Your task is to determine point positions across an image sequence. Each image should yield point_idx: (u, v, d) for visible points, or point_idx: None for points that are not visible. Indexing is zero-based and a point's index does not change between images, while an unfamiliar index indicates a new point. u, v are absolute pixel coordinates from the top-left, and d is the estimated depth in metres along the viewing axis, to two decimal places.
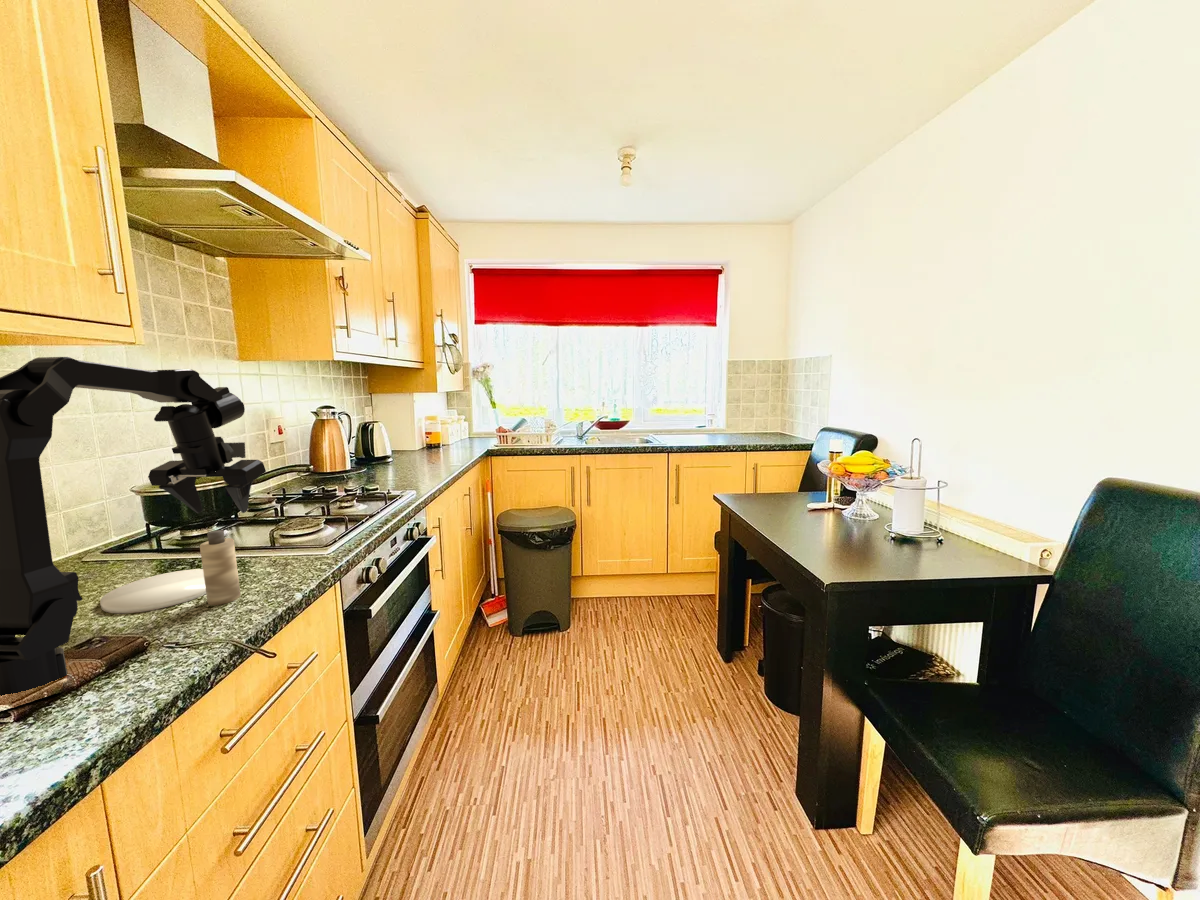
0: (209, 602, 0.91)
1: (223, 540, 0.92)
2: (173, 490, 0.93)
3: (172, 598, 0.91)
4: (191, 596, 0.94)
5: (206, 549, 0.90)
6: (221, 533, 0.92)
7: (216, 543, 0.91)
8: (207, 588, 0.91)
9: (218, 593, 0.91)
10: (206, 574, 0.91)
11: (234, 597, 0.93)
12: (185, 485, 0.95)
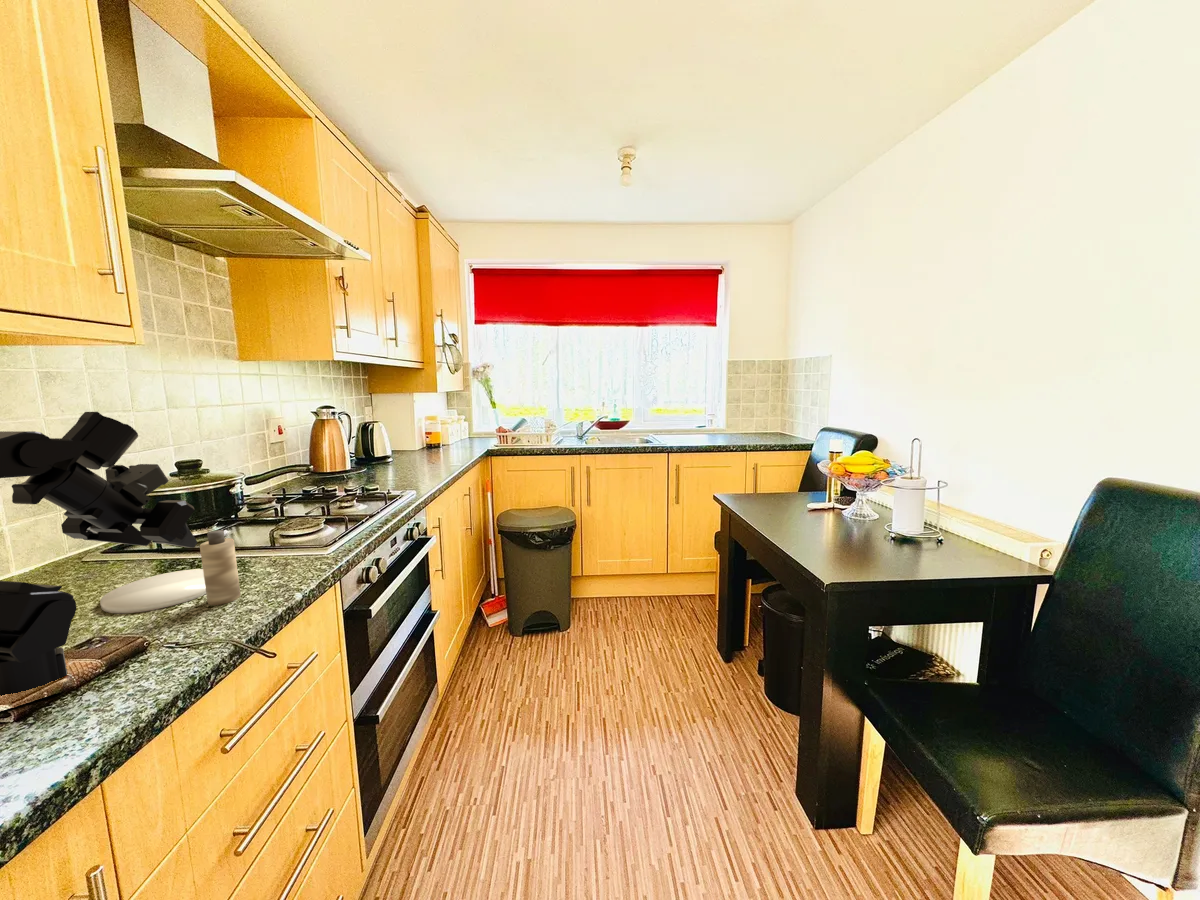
0: (209, 602, 0.91)
1: (223, 540, 0.92)
2: (100, 540, 0.79)
3: (172, 598, 0.91)
4: (191, 596, 0.94)
5: (206, 549, 0.90)
6: (221, 533, 0.92)
7: (216, 543, 0.91)
8: (207, 588, 0.91)
9: (218, 593, 0.91)
10: (206, 574, 0.91)
11: (234, 597, 0.93)
12: None
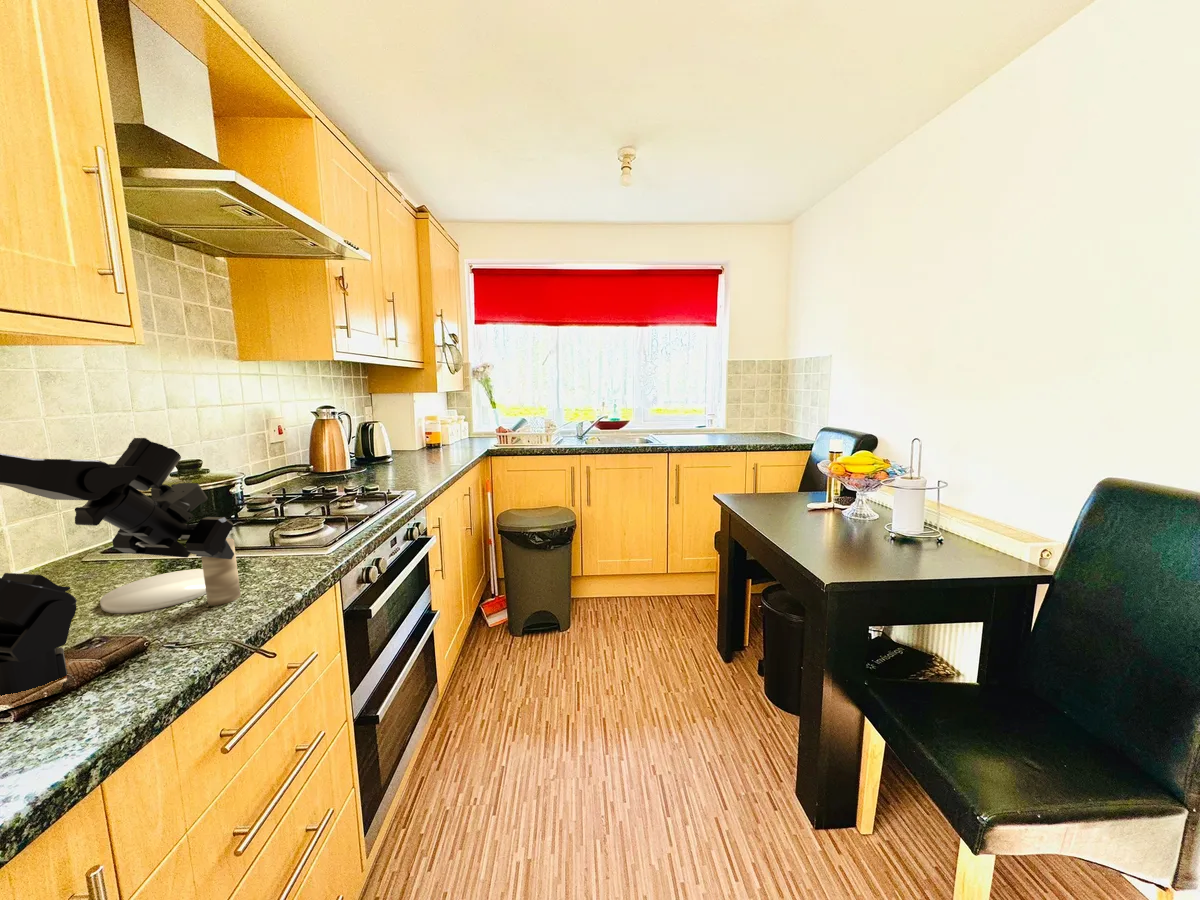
0: (209, 602, 0.91)
1: None
2: (147, 554, 0.85)
3: (172, 598, 0.91)
4: (191, 596, 0.94)
5: None
6: None
7: None
8: (207, 588, 0.91)
9: (218, 593, 0.91)
10: (206, 574, 0.91)
11: (234, 597, 0.93)
12: None
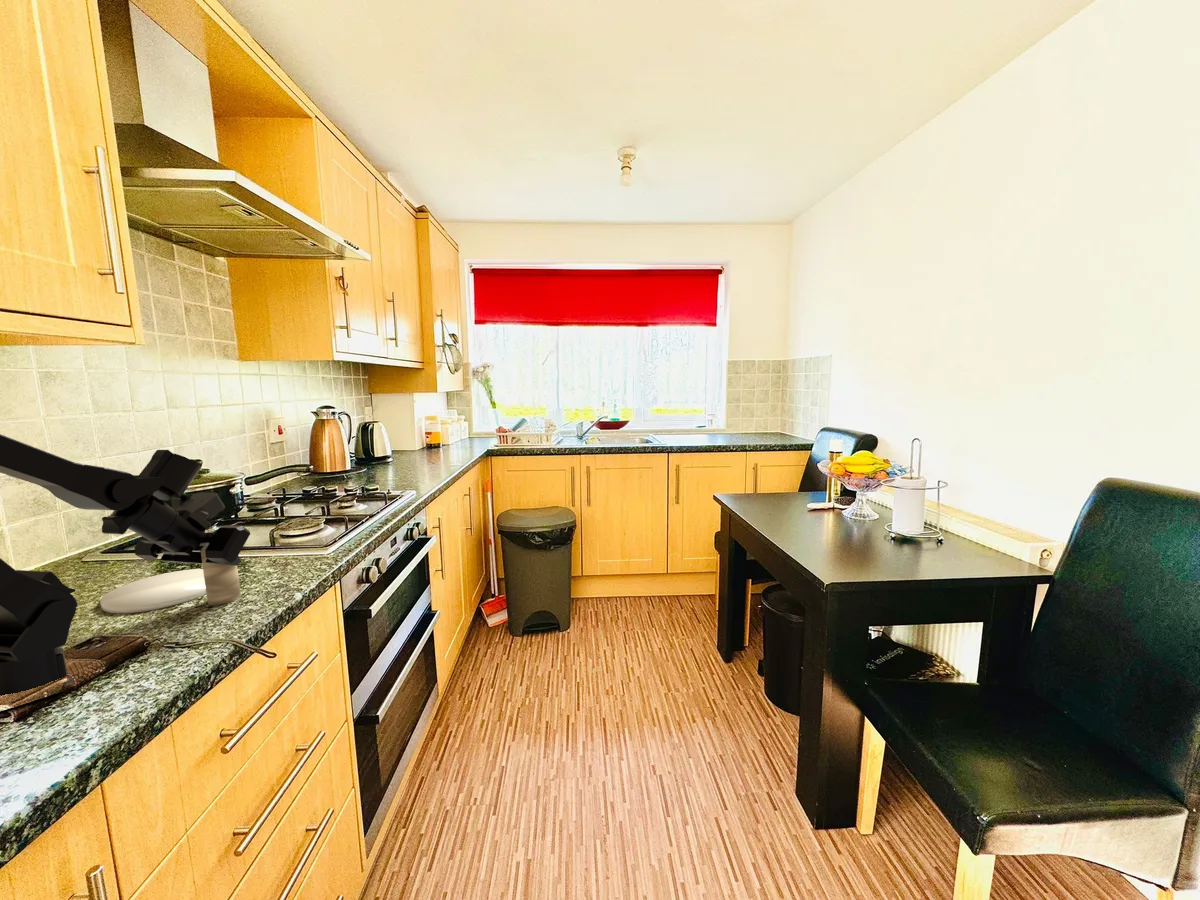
0: (210, 602, 0.91)
1: None
2: (176, 561, 0.88)
3: (172, 598, 0.91)
4: (191, 596, 0.94)
5: None
6: None
7: None
8: (207, 588, 0.91)
9: (218, 592, 0.91)
10: (206, 574, 0.91)
11: (234, 597, 0.93)
12: None
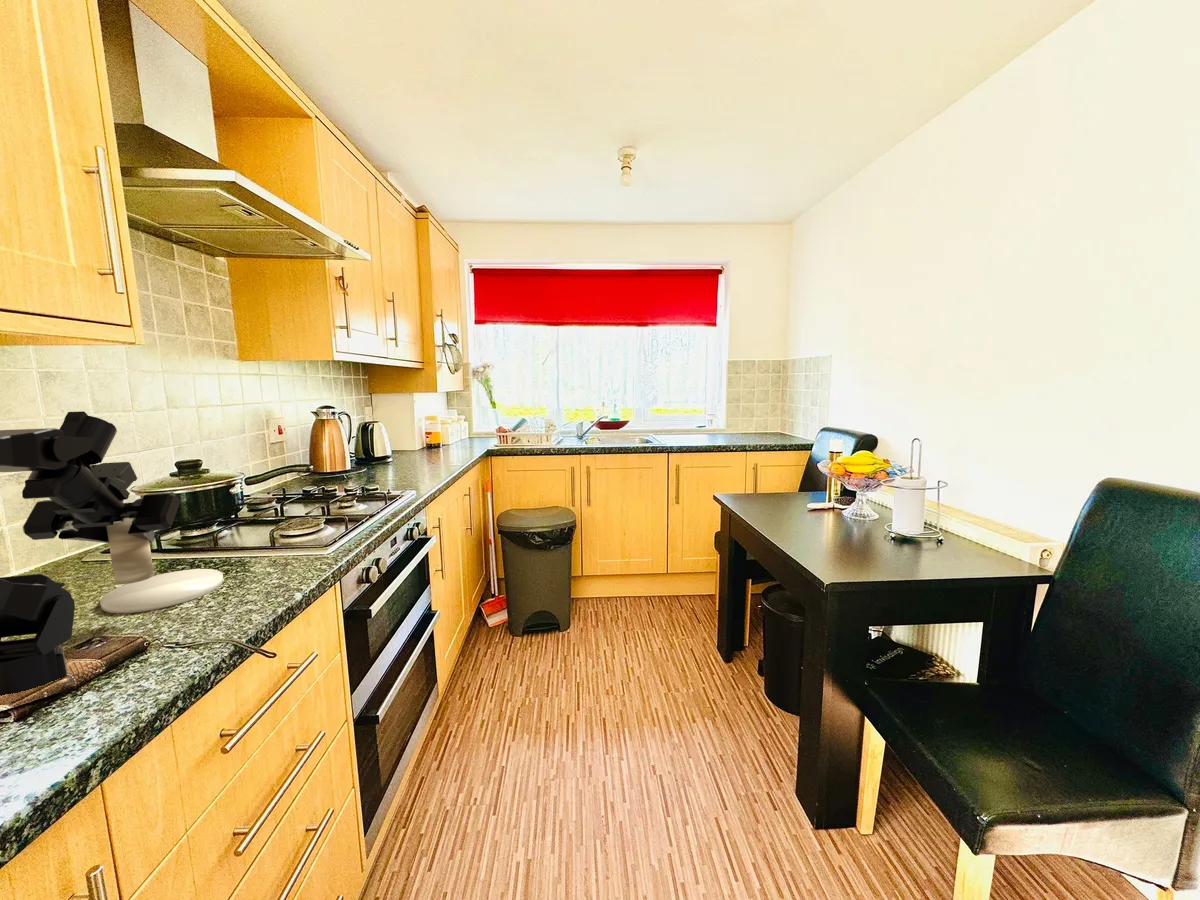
0: (121, 582, 0.84)
1: None
2: (81, 538, 0.80)
3: (172, 598, 0.91)
4: (191, 596, 0.94)
5: (119, 522, 0.83)
6: None
7: None
8: (118, 566, 0.84)
9: (134, 569, 0.85)
10: (117, 551, 0.84)
11: (150, 574, 0.87)
12: None
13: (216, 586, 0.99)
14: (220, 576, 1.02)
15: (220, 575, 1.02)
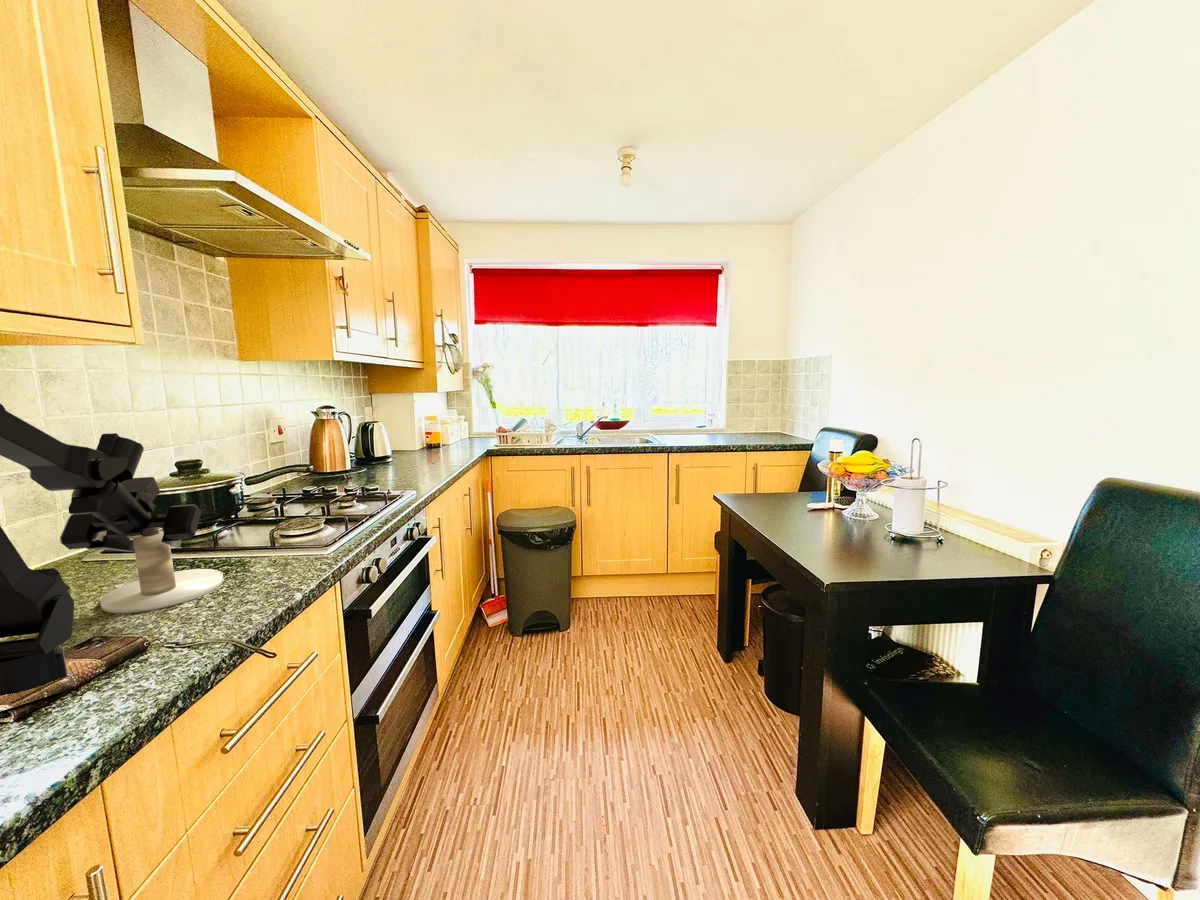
0: (148, 593, 0.93)
1: (158, 531, 0.95)
2: (106, 547, 0.88)
3: (172, 598, 0.91)
4: (191, 596, 0.94)
5: (146, 540, 0.92)
6: None
7: (153, 534, 0.94)
8: (145, 579, 0.93)
9: (159, 582, 0.94)
10: (144, 566, 0.92)
11: (173, 586, 0.96)
12: None
13: (216, 586, 0.99)
14: (220, 576, 1.02)
15: (220, 575, 1.02)
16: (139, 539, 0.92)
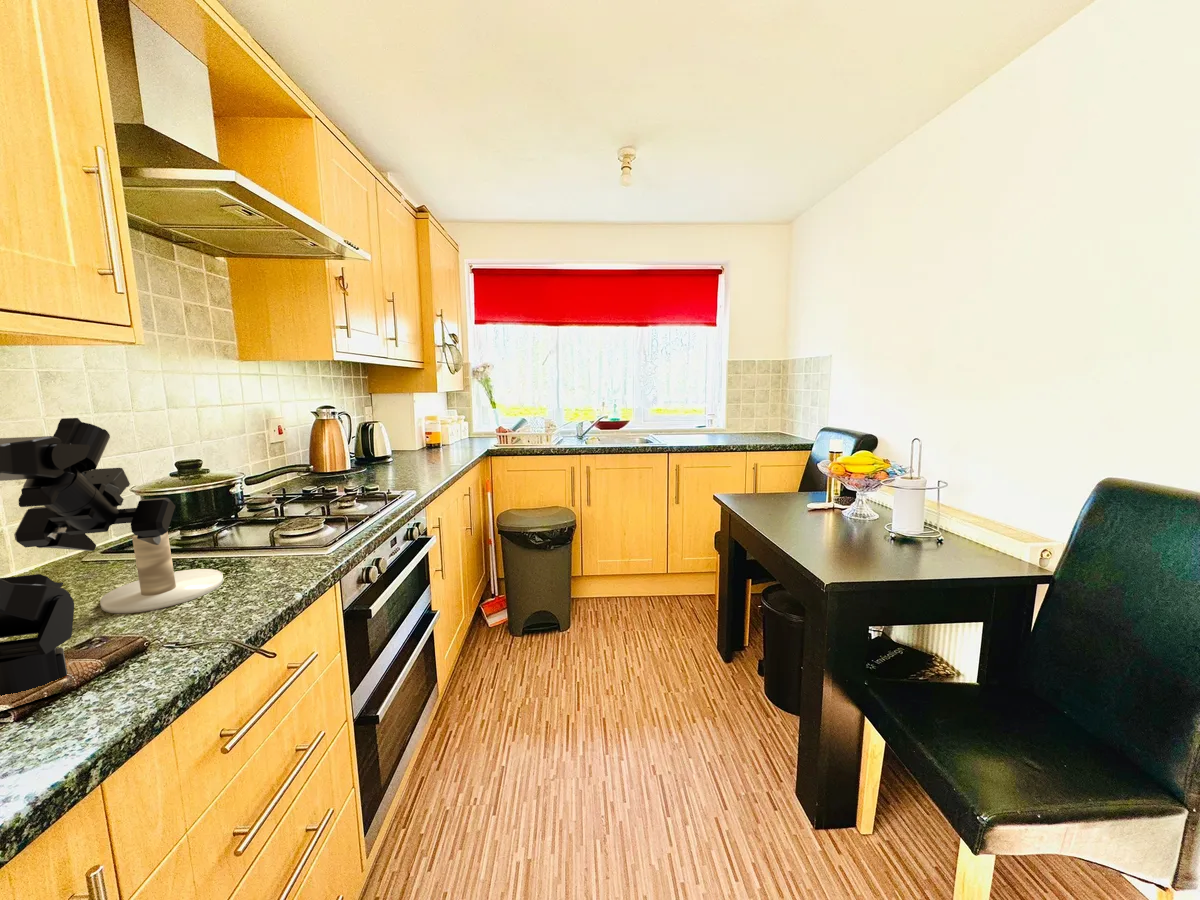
0: (148, 593, 0.93)
1: None
2: (59, 546, 0.79)
3: (172, 598, 0.91)
4: (191, 596, 0.94)
5: None
6: None
7: None
8: (145, 579, 0.93)
9: (159, 582, 0.94)
10: (144, 566, 0.92)
11: (173, 585, 0.96)
12: (68, 533, 0.81)
13: (216, 586, 0.99)
14: (220, 576, 1.02)
15: (220, 575, 1.02)
16: (139, 539, 0.92)
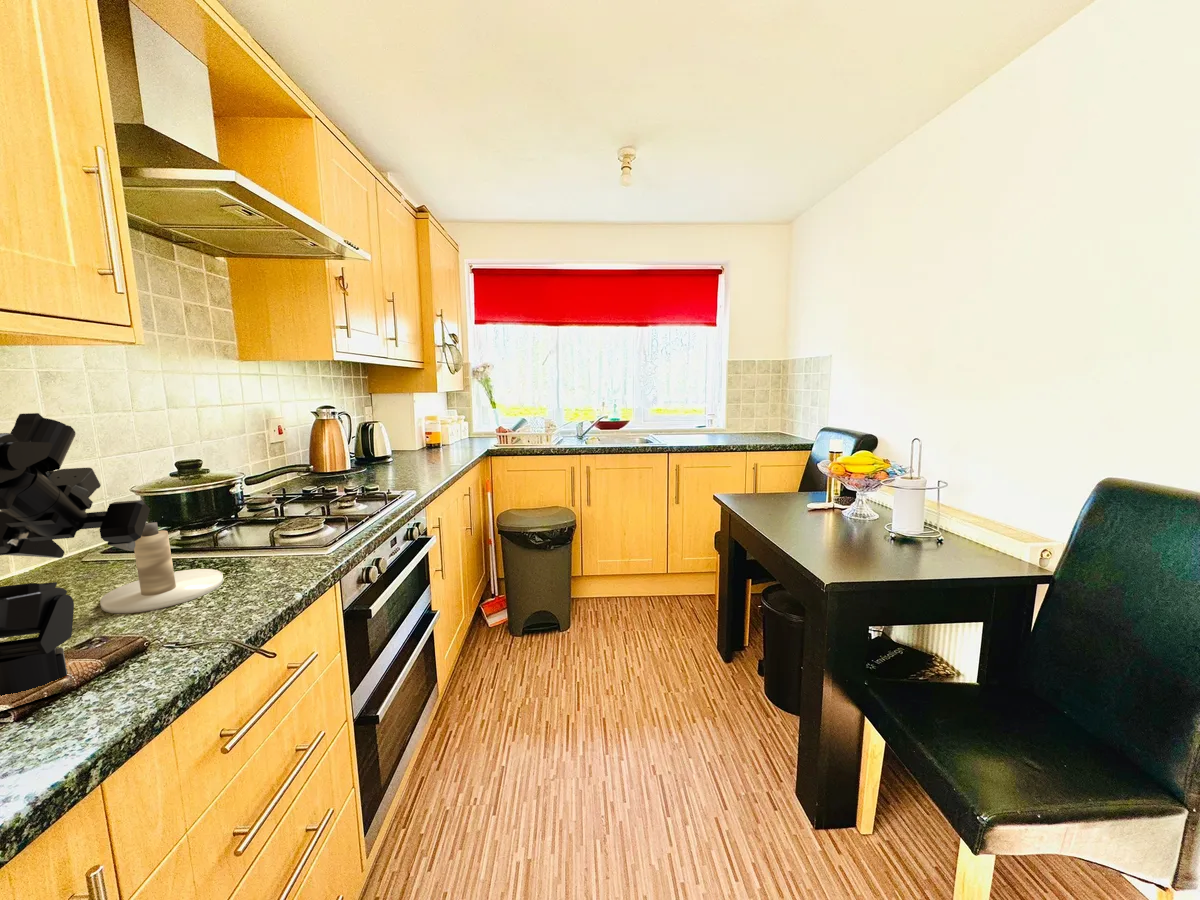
0: (148, 593, 0.93)
1: (158, 531, 0.95)
2: (21, 553, 0.73)
3: (172, 598, 0.91)
4: (191, 596, 0.94)
5: (145, 540, 0.92)
6: (156, 524, 0.94)
7: (153, 534, 0.94)
8: (145, 579, 0.93)
9: (159, 582, 0.94)
10: (144, 566, 0.92)
11: (173, 585, 0.96)
12: None
13: (216, 586, 0.99)
14: (220, 576, 1.02)
15: (220, 575, 1.02)
16: (139, 539, 0.92)
